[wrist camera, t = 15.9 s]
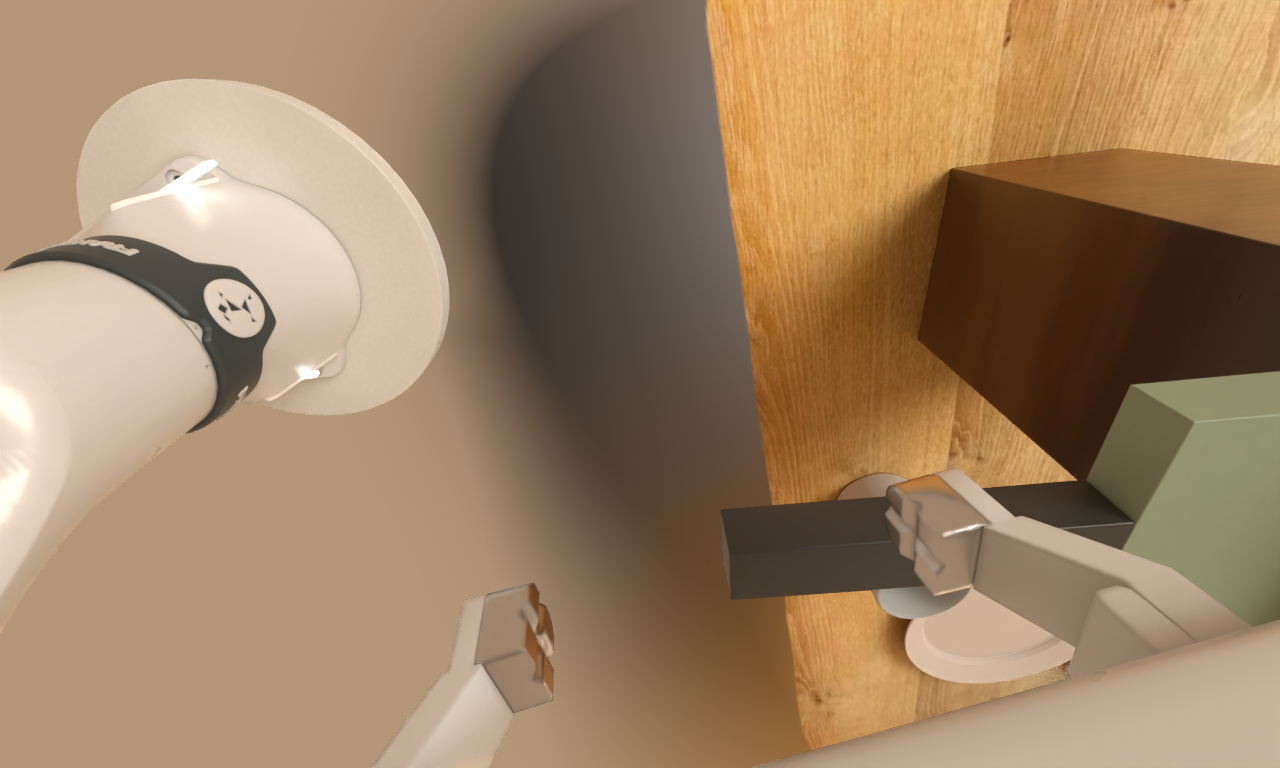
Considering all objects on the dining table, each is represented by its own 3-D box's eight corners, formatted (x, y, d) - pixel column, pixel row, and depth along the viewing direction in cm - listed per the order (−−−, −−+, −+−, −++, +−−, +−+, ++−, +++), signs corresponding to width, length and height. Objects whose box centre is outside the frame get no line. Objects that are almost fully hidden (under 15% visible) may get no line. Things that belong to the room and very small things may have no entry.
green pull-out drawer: (724, 615, 21) (732, 663, 19) (716, 422, 16) (726, 462, 14) (1267, 577, 19) (1328, 624, 18) (1451, 354, 14) (1562, 390, 13)
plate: (871, 591, 61) (878, 606, 59) (1099, 513, 54) (1114, 526, 52) (927, 687, 72) (934, 702, 70) (1122, 632, 65) (1135, 646, 63)
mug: (829, 532, 55) (869, 623, 46) (838, 474, 51) (884, 561, 41) (938, 525, 55) (1001, 615, 45) (956, 466, 50) (1030, 552, 41)
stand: (917, 339, 43) (1371, 740, 16) (951, 168, 36) (1851, 381, 9) (1059, 325, 42) (1773, 719, 16) (1122, 148, 35) (2621, 315, 9)
